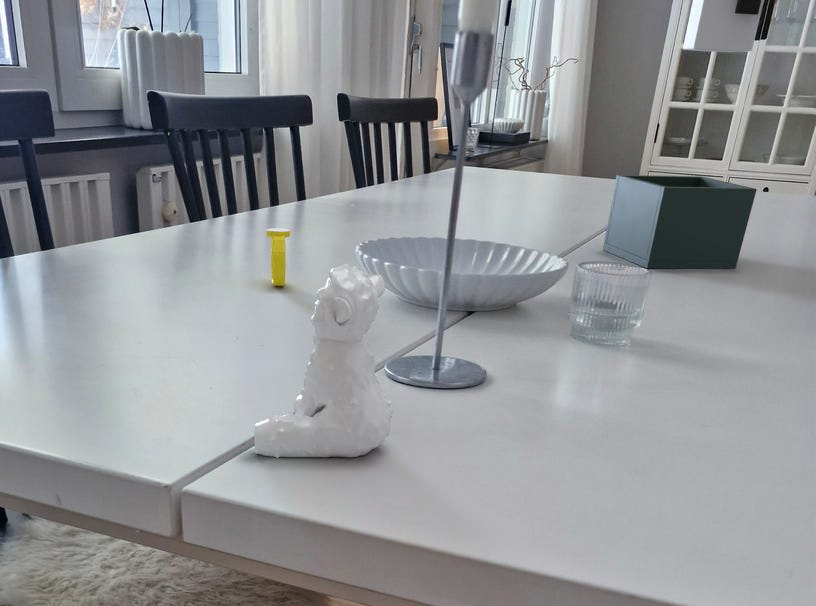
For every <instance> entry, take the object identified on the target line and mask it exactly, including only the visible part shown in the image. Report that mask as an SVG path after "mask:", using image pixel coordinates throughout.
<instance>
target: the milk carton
mask: <svg viewBox="0 0 816 606" xmlns="http://www.w3.org/2000/svg"><path fill="white" fill-rule="evenodd" d="M737 1H738V0H692V2H691V7H690V12H689V17H688V22H687V27H686V31H685V37H684V41H683V47H682V49H683V50H686V51H687V50H688V51H697V52H713V53H745V52H751V51H752V50H753V47H754V44H755V39H756V35H757V31H758V27H759V23H760V18H761V16H762V15H761V14H762V10H763V6H764V3H765V0H761V4H760V8H759V12H758V15H752V14H735V10H736V5H737Z"/></svg>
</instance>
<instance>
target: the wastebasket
mask: <svg viewBox="0 0 816 606" xmlns="http://www.w3.org/2000/svg"><path fill="white" fill-rule="evenodd" d="M613 188H614V189H613V193H612V198H611V205H610V209H609V215H608V219H607V226H606V231H605V236H604V240H603V241H604V242H603V247H602V251H604V252H606V253H609V254H612V255H614V256H616V257H619V258H621V259H623V260H626V261H628V262H630V263H632V264H635V265H637V266H639V267H642V268H645V269H647V268H648V269H647V270H649V269H650V270H651V269H652V270H655V269H656V270H658V269H659V270H665V269H667V270H668V269H673V270H675V269H677V270H678V269H681V270H682V269H689V270H690V269H693V270H695V269H698V270H699V269H736V268H737V265H738V261H739V257H740V254H741V250H742V246H743V243H744V238H745V234H746V231H747V227H748V225H749V224H748V223H749V220H750V217H751V212H752V209H753V205H754V201H755V197H756V193H757V191H758V188H756V187H755V188H754V187H752V186H751V187H750V186H746V185H743V184H737V183H732V182H728V181H724V180H720V179H714V178H711V177H706V176H698V175H697V176H696V175H695V176H693V175H692V176H691V175H690V176H689V175H687V176H686V175H645V174H644V175H639V174H636V175H635V174H616V176H615V182H614V187H613Z"/></svg>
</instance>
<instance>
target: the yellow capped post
mask: <svg viewBox="0 0 816 606" xmlns="http://www.w3.org/2000/svg"><path fill="white" fill-rule="evenodd" d="M265 236H266V237H268V238H271V239H270V272H271V273H270V274H271V275H270V277H271V284H272V286H279V287H281V286H285V285H286V263H287V262H286V238H290V237H291V230H290V229H288V228H281V227H280V228H278V227H275V228H274V227H272V228H265Z"/></svg>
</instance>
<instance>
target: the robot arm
mask: <svg viewBox="0 0 816 606" xmlns="http://www.w3.org/2000/svg"><path fill="white" fill-rule="evenodd" d="M760 4H761V0H738V1H737V5H736V10H735V14H752V15H758V12H759V8H760Z"/></svg>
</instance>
